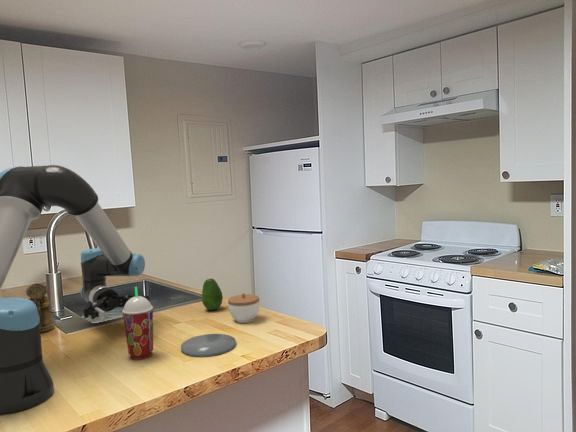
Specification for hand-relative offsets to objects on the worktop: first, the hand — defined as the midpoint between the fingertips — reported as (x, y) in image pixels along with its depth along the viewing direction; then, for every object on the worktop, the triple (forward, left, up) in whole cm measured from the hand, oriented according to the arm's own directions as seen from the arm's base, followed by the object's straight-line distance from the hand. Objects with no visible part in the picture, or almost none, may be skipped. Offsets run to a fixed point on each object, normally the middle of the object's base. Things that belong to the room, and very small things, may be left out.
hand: (126, 311), depth 140 cm
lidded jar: (+16, -36, -11) cm, 41 cm away
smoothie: (-8, -5, -11) cm, 15 cm away
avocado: (+32, -25, -11) cm, 42 cm away
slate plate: (-6, -24, -11) cm, 27 cm away
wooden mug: (+24, +34, -11) cm, 43 cm away
